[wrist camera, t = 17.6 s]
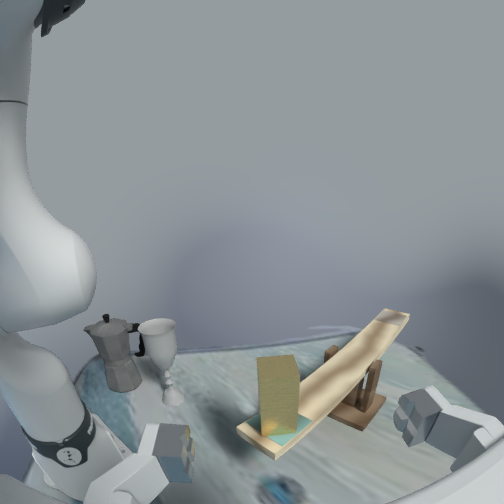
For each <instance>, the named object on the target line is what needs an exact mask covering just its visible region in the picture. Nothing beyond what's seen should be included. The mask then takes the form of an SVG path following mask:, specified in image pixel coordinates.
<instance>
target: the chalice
mask: <svg viewBox="0 0 504 504" xmlns="http://www.w3.org/2000/svg"><path fill="white" fill-rule="evenodd" d="M175 326H176V323H175V322H174V321H173V320H171V319H165V318H163V319H162V318H160V319H153V320H149V321H146V322H144V323H143V324H141V325H140V326H139V327H138V331H139V332H140V333H141V335H142V338H143V342H144V346H145V350H146V353H147V354H148V356H149V357H150V358H151V360H152V361H153V362H154V363H155V364H156V365H157V366H158V367H159V368H160V369H164V377H165V378H166V381H165V384H167V385H168V388H167V389H166V390H165V391H164V395H163V399H162V401H163V403H164V404H165V405H167V406H178V405H180V404H182V403H183V402H184V401H185V396H184V394H183V393H182V392H181V391H180V390H179V389H178V388H175V387H173V386H172V383H173V382H174V381H173V380H171V373H170V372H169V368H170V367H171V366H172V364H173V361H174V359H175V356H176V351H177V344H176V339H175V333H174V329H175Z"/></svg>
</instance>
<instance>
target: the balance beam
mask: <svg viewBox="0 0 504 504" xmlns="http://www.w3.org/2000/svg"><path fill="white" fill-rule="evenodd" d="M409 315H410V314H407V313H402V312H398V311H394V310H389V309H384V310H383V311H382V312H381V313H380V314H379V315H378V316H377V317H376V318H375V319H374V320H373V321H372V322H371V323H370V324H369V325H367V327H365V328H364V329H363V330H362V331H361V332H360V333H359V334H358V335H357V336H356V337H354V338H353V339H352V340H351V341H350V342H349V343H348V344H347V345H346V346H344V347H343V348H342V349H341V350H340V351H339V352H337V353H336V354H335V355H334V356H333V357H332V358H330V359H329V360H328V361H327V362H326V363H324V364H323V365H322V366H321V367H320V368H318V369H317V370H316V371H315V372H313V373H312V374H311V375H310V376H308V377H307V378H306V379H304V380H303V381H302V382H300V391H299V406H298V419H297V431H296V433H293V434H284V435H275V436H264V437H262V434H261V424H260V415H259V413H257V414H256V415H254V416H253V417H251V418H249V419H248V420H246V421H245V422H243V423H242V424H240V425H238V426H237V427H236V429H237V434H238V435H239V436H240V437H242V438H243V439H244V440H246V441H247V442H249V443H250V444H251V445H253V446H254V447H256V448H257V449H258V450H260V451H261V452H263V453H264V454H266V455H267V456H269V457H270V458H272V459H273V460H276V459H278V458H279V457H280V456H281V455H283V454H284V453H285V452H286V451H288V450H289V449H290V448H291V447H292V446H294V445H295V444H296V443H297V442H298V441H299V440H301V439H302V438H303V437H304V436H305V435H306V434H307V433H309V432H310V431H311V430H312V429H313V428H314V427H315V426H316V425H317V424H318V423H319V422H320V421H322V420H323V419H324V418H325V417H326V416H327V415H328V414H329V413H330V412H331V411H332V410H333V409H334V408H335V407H336V406H337V405H338V404H339V403H340V402H341V401H342V400H343V399H344V398H345V397H346V396H347V395H348V393H349V392H350V391H351V390H352V389H353V388H354V387H355V386H356V385H357V384H358V383H359V382H360V380H361V379H362V378H363V377H364V376H365V375H366V374H367V372H368V371H369V368H370V366H371V365H372V364H373V363H374V362H375V361H376V359H379V358H380V357H381V356H382V355H383V353H384V352H385V351H386V350H387V348H388V347H389V346H390V344H391V343H392V342H393V341H394V339H395V338H396V337H397V335H398V334H399V333H400V331H401V330H402V329H403V327H404V326H405V324H406V323H407V322H408V320H409Z"/></svg>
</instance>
